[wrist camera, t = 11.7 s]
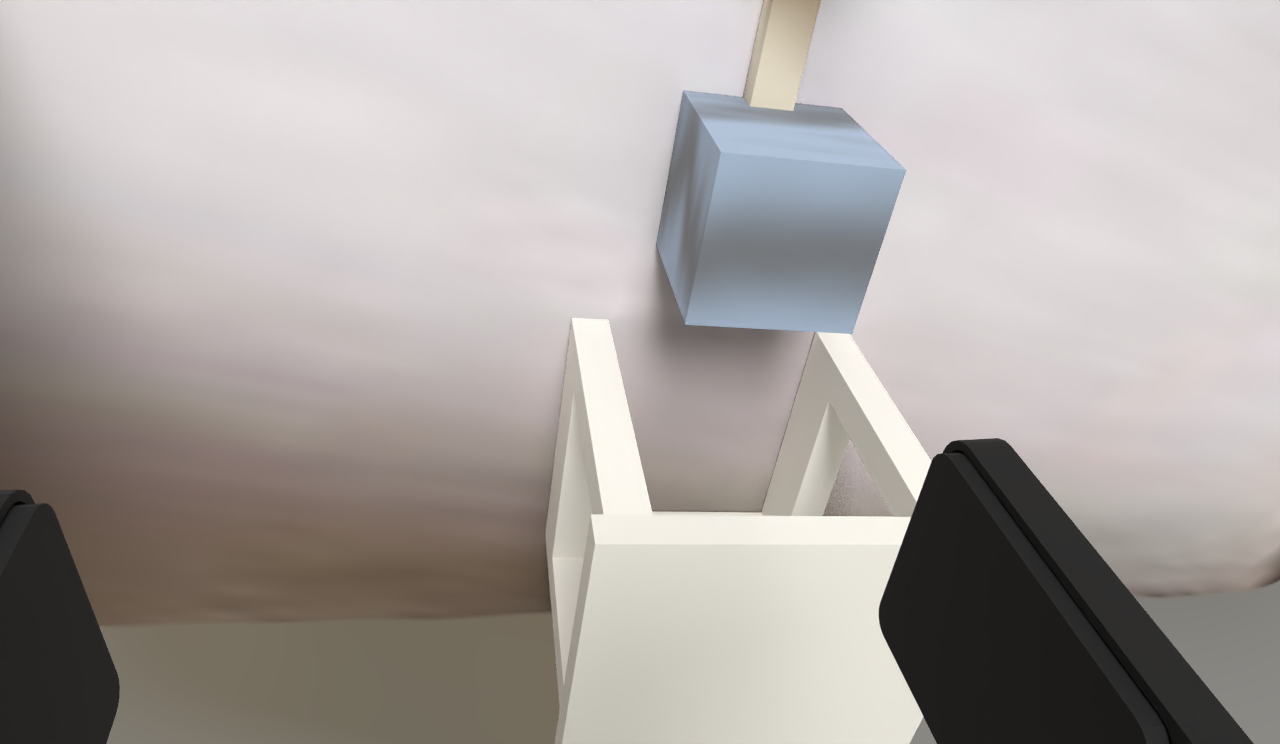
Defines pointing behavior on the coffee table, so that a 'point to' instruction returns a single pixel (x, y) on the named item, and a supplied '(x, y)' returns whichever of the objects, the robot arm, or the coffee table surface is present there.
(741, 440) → the coffee table surface
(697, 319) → the block
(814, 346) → the white open frame box
